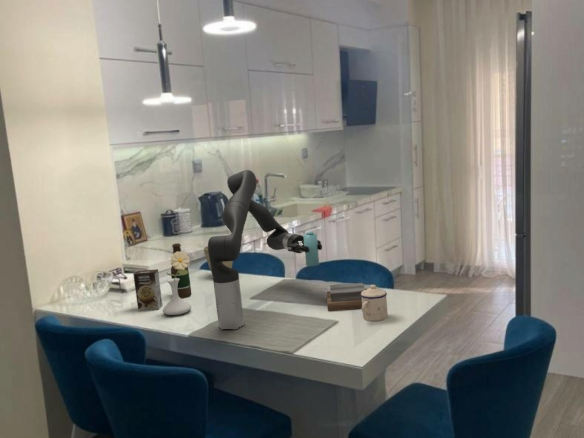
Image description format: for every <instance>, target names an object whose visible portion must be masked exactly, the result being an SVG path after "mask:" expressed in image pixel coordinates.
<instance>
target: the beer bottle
mask: <svg viewBox="0 0 584 438" xmlns="http://www.w3.org/2000/svg"><path fill="white" fill-rule="evenodd" d="M181 245H182V244H180V243H173V244H172V255H174V253H176V252H177V251H178V252H180V251H181V252H182V249H181ZM180 270H181V269H180ZM185 270H187V271H188V272H189V266H188V267H187V268H185ZM177 271H178V269H175V268H174V267H173V266H172V265H171V267H170V274H174V275H175V276H176V274H177V276H176V278H179V279H180V280H179V282H178V286H177V290H178V295H179V297H180V298H181V299H182V300H183V299H186V298H190V297H191V296H192V286H191V280H190V279H191V277H190V272H189V273H187V274H185V275H181V274H179V273H177ZM175 276H170V277H171V279H173V278H175Z"/></svg>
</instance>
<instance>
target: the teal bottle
mask: <svg viewBox="0 0 584 438" xmlns="http://www.w3.org/2000/svg"><path fill="white" fill-rule="evenodd" d="M302 236H303V237H304V246H307V247H308V248H309V252H304V254H305V255H304V257H305V265H306V266H307V267H316V266H318V265H320V258H319V250H318V244H317V240H318V236H317V233H314V231H306V233H305V234H303V235H302Z"/></svg>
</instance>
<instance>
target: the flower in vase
mask: <svg viewBox="0 0 584 438" xmlns="http://www.w3.org/2000/svg"><path fill="white" fill-rule="evenodd" d="M190 260H191V259H190V257H189V256H188V254H186V253H185V252H184V251H182V250H181V251H180V252H178V251H177V252H176V253H174V255H173V254H171V256H170V265H171V267H172V266H173V267H174V268H175V269H178V271H177V273H179V274H181V275H185V274H187V273H189V274H190V272H188V271H187V270H185V268H187V267H188V268H189V266H190ZM180 269H181V270H180ZM166 274H167V275H168V276H170V277H171V276H175V275H174V274H171V273H168V272H166ZM176 276H177V274H176ZM176 276H175V278H173V279H172V278H169V279H167V280H166V283H168V284H169V286H170V289H171V295H172V297H171V299H170V300H169V301H168V302H167V303H166V305H165V306H164V307H163V309H162V313H163V314H165V315H169V316H176V315H177V316H178V315H182V314H183V315H184V314H186V313H187V312H189V311H190V310H191V309H192V305H191V304H190V303H189V302H188V301H186V300H184V299H183V298H182V299H181V298H180V297H179V295H178V290H177V286H178V282H179V280H180V279H179V278H176Z"/></svg>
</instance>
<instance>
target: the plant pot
mask: <svg viewBox="0 0 584 438" xmlns="http://www.w3.org/2000/svg"><path fill="white" fill-rule="evenodd" d="M203 251H204V255H205V259H206V262H207V264H208V268H209V271H210V272H211V273H212V271H211V264H210V259H209V253H208V245H207V246H204V247H203ZM233 262H234V261H226V262H222V263H223V264H224V265H225V266H227V267H229V268H232V269H233V264H234V263H233Z"/></svg>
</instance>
